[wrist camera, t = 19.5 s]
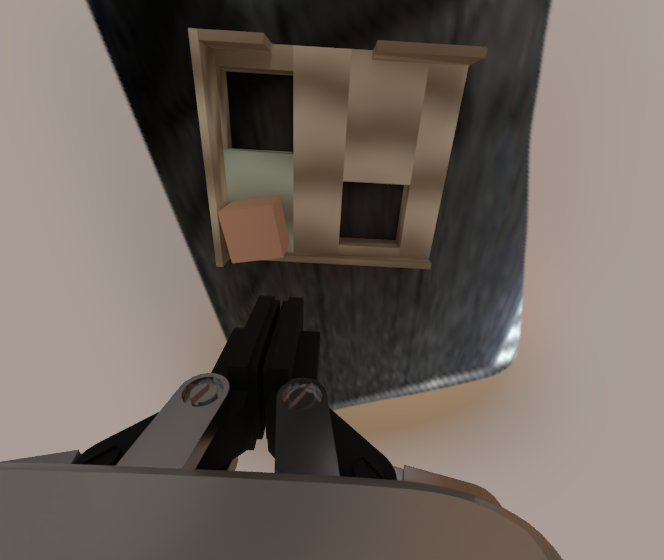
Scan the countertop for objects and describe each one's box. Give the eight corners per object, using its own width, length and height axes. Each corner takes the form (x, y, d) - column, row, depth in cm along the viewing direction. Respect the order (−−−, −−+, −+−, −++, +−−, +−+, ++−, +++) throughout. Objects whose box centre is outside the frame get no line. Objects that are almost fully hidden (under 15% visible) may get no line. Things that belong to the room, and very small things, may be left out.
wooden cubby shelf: (216, 47, 25) (187, 28, 20) (458, 62, 26) (487, 47, 21) (234, 245, 33) (216, 266, 28) (421, 256, 33) (436, 278, 28)
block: (232, 201, 28) (217, 211, 25) (280, 195, 28) (272, 205, 25) (244, 247, 30) (232, 263, 27) (289, 242, 30) (283, 257, 26)
